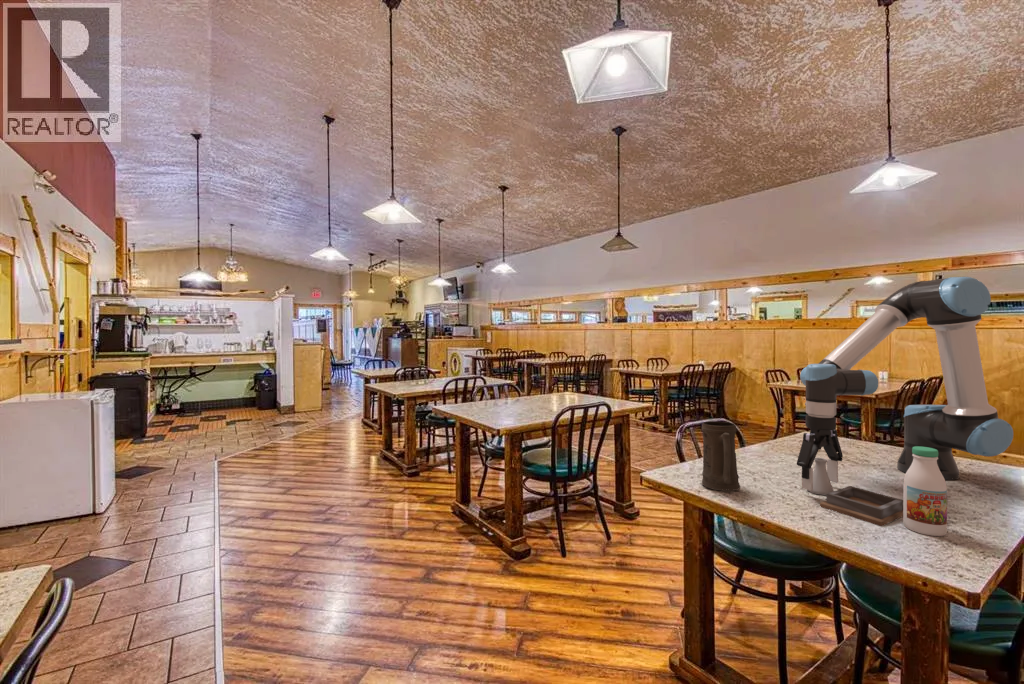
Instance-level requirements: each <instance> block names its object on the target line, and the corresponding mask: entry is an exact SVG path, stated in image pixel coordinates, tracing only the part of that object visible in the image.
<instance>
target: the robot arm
mask: <svg viewBox="0 0 1024 684" xmlns="http://www.w3.org/2000/svg"><path fill="white" fill-rule="evenodd" d="M991 298H992V296H991V293H990V290H989V288H988V287H987V286H986V285H985V283H983V282H982V281H980V280H979V279H978V278H977V279H976V278H974V277H971V276H953V277H952V276H950V277H944V278H940V279H939V278H938V279H937V278H936V279H930V280H922V281H921V280H920V281H916V282H912V283H908V284H907V285H904V286H902V287H901V288H900V289H897V290H896V291H893V293H892V294H890V295H889V296H887V297H886V298H885V299H883V301H881V302H880V303H879V304H878V305H877V306H876V307H875V308H874V313H873V314H872V315H871V316H869V318H867V319H866V320H865V321H864V322H863V323H862V324H861V325H860V326H859V327H857V328H856V329H855V330H854V331H853V332H852V333H851V334H849V336H847V337H846V338H845V339H844V340H843V341H842V342H840V344H838V345H837V346H836V347H835V348H834V349H833V350H832V351H831V352H830V353H829V354H827V355H826V356H825V357H824V358H823V359H822V360H821V361H820V362H818V363H809V364H807V365H806V367H804V368H803V369H802V370H801V372H800V375H799V377H800V381H801V383H802V384H803V386H805V403H804V406H805V413H806V415H805V427H806V428H808V429H809V430H810V431H809V433H807V432H804V433H803V434H802V435H803V436H802V443H801V446H800V450H799V452H798V453H799V454H798V455H797V456H798V457H797V461H796V466H798V467H801V489H804V490H806V491H807V490H810V491H813V471H814V468H813V467H812V466H813V464H814V463H815V462H814V461H815V460H814V459H815V458H817V455H818V452H819V451H820V450H822V448H823V449H824V451H825V453H826V455H827V457H828V459H827V458H826V460H827V462H826V470H827V474H828V477H829V480H830V482H831V483H839V462H843V457H844V455H843V451H842V448H841V444H840V441H839V437H838V430H837V418H836V417H835V416H837V396H867V395H872V394H874V393H875V392H876V391H877V390H878V389H879V379H878V377H877V375H876V373H874V372H873V371H871V370H868V369H867V370H865V369H853V367H854V366H856V365H857V364H858V363H859V362H860V361H861V360H862V359H864V358H865V357H866V356H867V355H868V354H869V353H870V352H871V351H873V350H874V349H875V348H876V347H877V346H878V345H879V344H881V343H882V341H884V340H885V339H886V338H887V337H888V336H889V335H890V334H891V333H893V332H894V331H895V330H896V329H897V328H901V327H902V328H903V327H904V326H906V325H907V324H908V323H909V322H911V321H912V320H913V321H914V320H916V319H920V318H925V319H926V323H927V324H926V325H927V326H928V327H930V328H932V329H933V330H935V336H936V344H937V350H938V353H939V355H938V356H939V359H940V365H941V371H942V376H943V383H944V390H945V394H946V400H947V402H946V403H947V404H909V405H906V406H905V408H904V414H903V441H904V442H903V449H902V451H901V453H900V455H899V457H898V459H897V462H896V463H897V464H896V466H897V467H896V468H897V470H899V471H901V472H903V473H905V474H906V472H907V470H908V469H909V468H910V466H911V464H912V462H913V456H912V455H913V453H912V448H913V447H915V446H921V447H929V448H933V449H936V450H938V459H937V465H938V467H939V470H940V472H941V473H942V475H943V477H944V479H945V481H947V480H949V481H952V480H957V479H959V478H960V470H959V467H958V465H957V462H956V460H955V457H954V455H953V450H957V451H960V452H965V453H969V454H971V455H978V456H982V457H995V456H998V455H1001V454H1003V453H1004V452H1005V451H1006V450H1007V449H1008V448H1009V447H1010V446H1011V444H1012V442H1013V440H1014V429H1013V427H1012V425H1011V424H1010V423H1009V422H1008V421H1006V420H1004V419H1002V418H999V414H998V410H997V408H996V407H994V406H992V405H991V404H989V400H988V399H989V398H988V394H987V389H986V382H985V381H986V380H985V377H984V369H983V365H982V364H983V363H982V359H981V353H980V348H979V347H980V346H979V341H978V333H977V329H976V326H977V324H978V323H979V322H981V320H982V315H983V314H984V313H985V312H987V310H988V309H989V306H990V305H991V300H992V299H991ZM810 491H809V492H810Z"/></svg>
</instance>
